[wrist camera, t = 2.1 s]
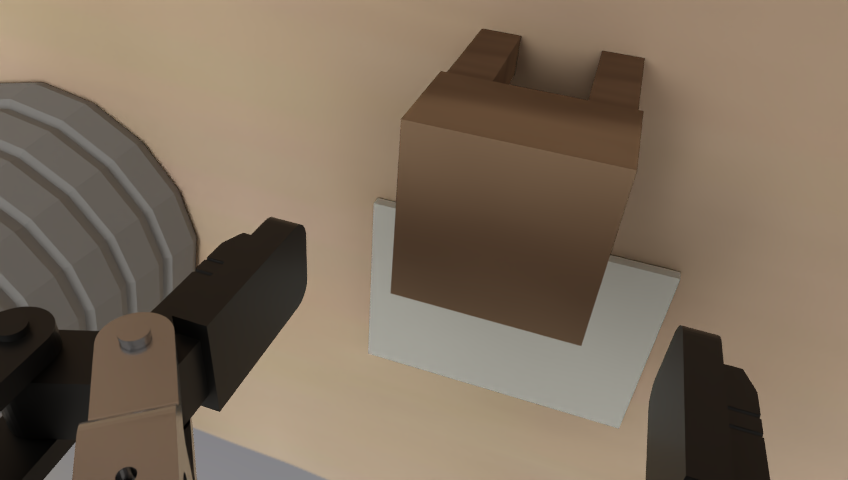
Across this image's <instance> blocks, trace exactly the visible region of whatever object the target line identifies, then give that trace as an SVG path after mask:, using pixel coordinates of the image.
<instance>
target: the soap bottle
mask: <svg viewBox="0 0 848 480" xmlns="http://www.w3.org/2000/svg"><path fill="white" fill-rule="evenodd" d="M195 266H196V234H195V232H194V229H193V226H192V224H191V221H190V219H189V216H188V213H187V211H186V208H185V206H184V203H183V200H182V198H181V195H180V193H179V190H178V188H177V187H176V186H175V184H174V183H173V182H172V180H171V179H170V178H169V176H168V175H167V174H166V172H165V171H164V170H163V169H162V167H161V166H160V165H159V163H158V162H157V161H156V159H155V158H154V157H153V155H152V154H151V153H150V151H149V150H148V149H147V147H146V146H145V145H144V143H143V142H142V141H141V140H139V139H138V138H137V137H136V136H134V135H133V134H132V133H131V132H129V131H128V130H127V129H126V128H124V127H123V126H122V125H121V124H119V123H118V122H117V121H116V120H114V119H113V118H112V117H111V116H109V115H108V114H107V113H105V112H104V111H103V110H102V109H100V108H99V107H98V106H97V105H95V104H94V103H92V102H90V101H87V100H85V99H82V98H80V97H78V96H75V95H73V94H70V93H68V92H65V91H63V90H60V89H58V88H55V87H53V86H51V85H48V84H46V83H43V82H39V83H0V312H1V311H4V310H7V309H11V308H16V307H26V306H30V307H39V308H42V309H45V310H47V311H49V312H50V313H51V314H52V315H53V316H54V318H55V321H56V324H57V327H58V330H85V331H100V330H101V329H102V328H103V327H104V326H105V325H107V324H108V323H109V322H111V321H113V320H114V319H116V318H119V317H121V316H124V315H127V314H131V313H137V312H151V311H152V310H153V309H154V308H155V307H156V306H157V305H159V304H160V303H161V302H162V301H163V300H164V299H165V298H166V297H167V296H168V295H169V294H170V293H171V292H172V291H173V290H174V289H175V288H176V287H177V286H178V285H179V284H180V283H181V282H182V281H183V280H184V279H185V278H186V277H187V276H188V275H189V274H191V273H192V272H195ZM2 416H3V415H2V413H1V412H0V418H1V417H2Z"/></svg>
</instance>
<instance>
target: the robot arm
mask: <svg viewBox="0 0 848 480" xmlns="http://www.w3.org/2000/svg"><path fill="white" fill-rule="evenodd" d="M306 285H307V256H306V231H305V228H304V226H303V225H300V224H296V223H292V222H288V221H285V220H281V219H277V218H273V217H270V218H268V219H267V220H265V221H264V222H263V223H262V224H261V225H260V226H259V227H258V228H257V229H256V231H255V232H254V233H253V234H252V235H249V234H246V233H242V234H240V235H238V236H236V237H233V238H231V239H229V240H227V241H225V242H223V243H221V244H220V245H219V246H218V247H217V248H216V249H215V250H214V251H213V252H212V253H211V254H210V255H209V256H208V257H207V260H204V261H203V262H202V263H201V264H200V265H199V266H198V267H197V268H196V270H195V272H192V273H191V274H189V275H188V276H187V277H186V278H185V279H184V280H183V281H182V282H181V283H180V284H179V285H178V286H177V287H176V288H175V289H174V290H173V291H172V292H171V293H170V294H169V295H168V296H167V297H166V298H165V299H164V300H163V301H162V302H161V303H160V304H159V305H157V306H156V307H155V308H154V309H153V310H152V311H151V312H137V313H131V314H127V315H124V316H121V317H119V318H116V319H114V320H113V321H111V322H109V323H108V324H107V325H105V326H104V327H103V328H102V329H101V330H100V331H85V330H58V327H57V324H56V321H55V318H54V316H53V315H52V314H51V313H50V312H49V311H47V310H45V309H42V308H39V307H30V306H26V307H16V308H11V309H7V310H4V311H1V312H0V412H1V413H2V415H3V416H2V417H1V418H0V480H43V479H44V478H45V477H46V476H47V475H48V474H49V472H50V471H51V470H52V469H53V468H54V467H55V465H56V464H57V463H58V462H59V461H60V460H61V458H62V457H63V456H64V455H65V454H66V452H67V451H68V450H69V449H70V448H71V447H72V445H73V444H74V443H75V442H76V446H75V457H74V467H73V478H72V480H197V477H196V463H195V450H194V438H193V425H192V419H191V417H192V416H193V415H194V413H195V412H196V411H197V409H198V408H199V407H200V406H204V407H207V408H210V409H213V410H216V411H219V412H220V411H221V409H222V408H223V407H224V405H225V404H226V403H227V401H228V400H229V399H230V397H231V396H232V395H233V393H234V392H235V391H236V389H237V388H238V387H239V385H240V384H241V383H242V381H243V380H244V379H245V377H246V376H247V375H248V373H249V372H250V371H251V369H252V368H253V367H254V365H255V364H256V363H257V361H258V360H259V359H260V357H261V356H262V355H263V353H264V352H265V351H266V349H267V348H268V347H269V345H270V344H271V343H272V341H273V340H274V339H275V337H276V336H277V335H278V333H279V332H280V331H281V329H282V328H283V327H284V325H285V324H286V323H287V321H288V320H289V319H290V317H291V316H292V315H293V313H294V312H295V310H296V309H297V308H298V306H299V305H300V303H301V301H302V299H303V296H304V293H305V290H306ZM760 415H761V414H760V407H759V400H758V394H757V391H756V389H755V388H754V386H753V385H752V383H751V381H750V380H749V378H748V377H747V375H746V373H745V372H744V370H743V369H740V368H737V367H733V366H729V365H725V364H724V363H723V352H722V342H721V337H720V336H719V335H715V334H711V333H707V332H704V331H700V330H696V329H692V328H688V327H685V326H679V327H678V328H677V330H676V332H675V334H674V336H673V338H672V341H671V343H670V345H669V348H668V350H667V352H666V355H665V357H664V359H663V362H662V364H661V367H660V369H659V371H658V374H657V376H656V378H655V381H654V384H653V387H652V391H651V396H650V401H649V410H648V435H647V461H646V480H770V476H769V469H768V462H767V455H766V448H765V442H764V438H762V436H763V428H762V421H761V419H760Z"/></svg>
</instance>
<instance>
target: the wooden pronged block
mask: <svg viewBox="0 0 848 480" xmlns="http://www.w3.org/2000/svg"><path fill="white" fill-rule="evenodd" d="M520 40H521V36H519V35H513V34H508V33H502V32H497V31H491V30H486V29H481V31H480V32H479V33H478V34H477V36H476V37H475V38H474V39H473V41H472V42H471V43H470V44H469V46H468V47H467V48H466V49H465V51H464V52H463V53H462V54H461V56H460V57H459V58H458V59H457V61H456V62H455V63H454V64H453V66H452V67H451V68H450V69H449V71H448V72H443V71H441V72H440V73H439V74H438V75H437V76H436V78H435V79H434V80H433V81H432V83H431V84H430V85H429V86H428V87H427V89H426V90H425V91H424V92H423V93H422V95H421V96H420V97H419V98H418V99H417V101H416V102H415V103H414V104H413V105H412V107H411V108H410V109H409V110H408V111H407V113H406V114H405V115H404V116H403V118H402V119H401V129H400V146H399V162H398V178H397V195H396V211H395V227H394V243H393V260H392V276H391V292H390V293H391V294H394V295H398V296H402V297H405V298H409V299H413V300H416V301H420V302H423V303H427V304H431V305H434V306H438V307H441V308H445V309H449V310H452V311H456V312H460V313H463V314H467V315H470V316H474V317H478V318H481V319H485V320H488V321H492V322H496V323H499V324H503V325H506V326H510V327H514V328H517V329H521V330H525V331H528V332H532V333H535V334H539V335H543V336H546V337H550V338H553V339H557V340H561V341H564V342H568V343H572V344H575V345H579V346H581V345H582V342H583V339H584V336H585V333H586V330H587V327H588V323H589V320H590V317H591V314H592V311H593V308H594V305H595V301H596V298H597V295H598V292H599V289H600V286H601V283H602V279H603V276H604V273H605V270H606V267H607V264H608V261H609V257H610V254H611V251H612V248H613V245H614V242H615V238H616V235H617V232H618V229H619V226H620V223H621V220H622V216H623V213H624V210H625V207H626V204H627V201H628V198H629V194H630V191H631V188H632V185H633V182H634V179H635V176H636V172H637V167H638V158H639V148H640V139H641V129H642V120H643V111H640V110H638V109H639V101H640V93H641V85H642V77H643V68H644V60H645V58H639V57H634V56H628V55H623V54H617V53H612V52H606V51H602V54H601V58H600V61H599V65H598V68H597V72H596V75H595V79H594V82H593V86H592V89H591V93H590V96H589V100H584V99H579V98H574V97H569V96H564V95H559V94H554V93H549V92H544V91H539V90H534V89H529V88H524V87H519V86H514V85H509V84H510V82H511V80H512V78H513V76H514V75H515V69H516V63H517V57H518V51H519V46H520Z"/></svg>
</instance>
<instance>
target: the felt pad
mask: <svg viewBox="0 0 848 480" xmlns="http://www.w3.org/2000/svg"><path fill="white" fill-rule="evenodd" d="M395 211H396V202H393V201H389V200H385V199H381V198H377V199H376V201H375V202H374V211H373V239H372V266H371V293H370V320H369V347H368V354H372V355H375V356H378V357H382V358H385V359H388V360H392V361H395V362H398V363H402V364H405V365H408V366H412V367H415V368H418V369H422V370H425V371H428V372H432V373H435V374H438V375H442V376H445V377H448V378H452V379H455V380H458V381H462V382H465V383H468V384H472V385H475V386H478V387H482V388H485V389H488V390H492V391H495V392H498V393H502V394H505V395H509V396H512V397H515V398H519V399H522V400H525V401H529V402H532V403H535V404H539V405H542V406H545V407H549V408H552V409H555V410H559V411H562V412H565V413H569V414H572V415H575V416H579V417H582V418H585V419H589V420H592V421H595V422H599V423H602V424H605V425H609V426H612V427H615V428H619V427H620V424H621V422H622V420H623V417H624V415H625V412H626V410H627V408H628V405H629V403H630V400H631V398H632V395H633V393H634V391H635V388H636V386H637V383H638V381H639V378H640V376H641V374H642V371H643V369H644V366H645V364H646V361H647V359H648V357H649V354H650V352H651V349H652V347H653V345H654V342H655V340H656V337H657V335H658V332H659V330H660V328H661V325H662V323H663V320H664V318H665V315H666V313H667V311H668V308H669V306H670V303H671V301H672V298H673V296H674V294H675V291H676V289H677V286H678V284H679V282H680V272H678V271H674V270H670V269H666V268H661V267H657V266H653V265H649V264H645V263H641V262H637V261H633V260H629V259H625V258H621V257H617V256H613V255H610V257H609V261H608V264H607V267H606V270H605V273H604V276H603V279H602V283H601V286H600V289H599V292H598V295H597V298H596V301H595V305H594V308H593V311H592V314H591V317H590V320H589V323H588V327H587V330H586V333H585V336H584V339H583V342H582V345H581V346H579V345H575V344H572V343H568V342H564V341H561V340H557V339H553V338H550V337H546V336H543V335H539V334H535V333H532V332H528V331H525V330H521V329H517V328H514V327H510V326H506V325H503V324H499V323H496V322H492V321H488V320H485V319H481V318H478V317H474V316H470V315H467V314H463V313H460V312H456V311H452V310H449V309H445V308H441V307H438V306H434V305H431V304H427V303H423V302H420V301H416V300H413V299H409V298H405V297H402V296H398V295H394V294H391V293H390V292H391V276H392V260H393V243H394V227H395Z"/></svg>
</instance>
